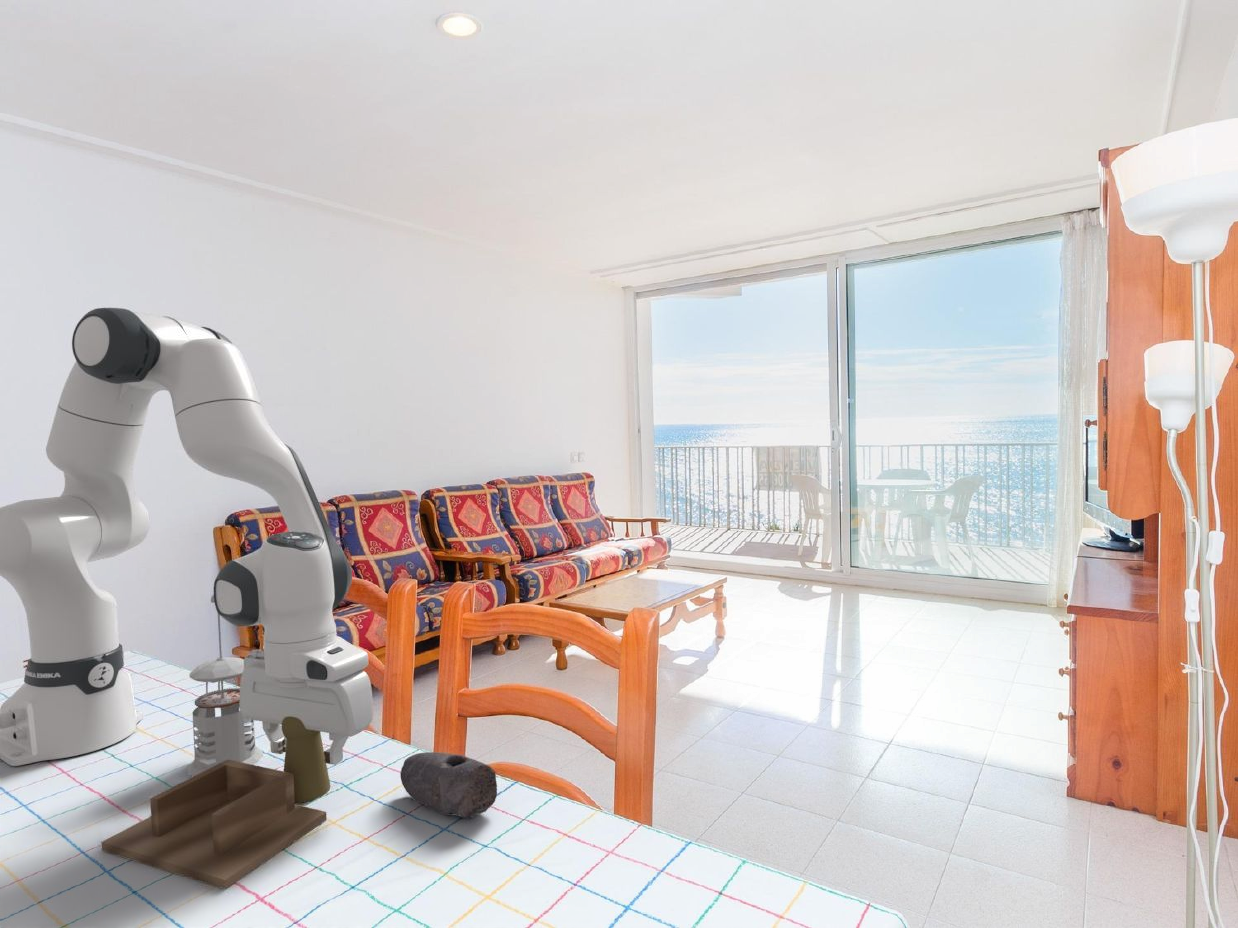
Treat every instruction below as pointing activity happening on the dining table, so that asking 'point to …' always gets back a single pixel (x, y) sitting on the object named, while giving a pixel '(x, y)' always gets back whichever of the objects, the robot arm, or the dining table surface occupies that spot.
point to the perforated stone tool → (450, 783)
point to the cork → (305, 760)
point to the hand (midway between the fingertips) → (306, 756)
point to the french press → (221, 717)
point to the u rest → (218, 824)
